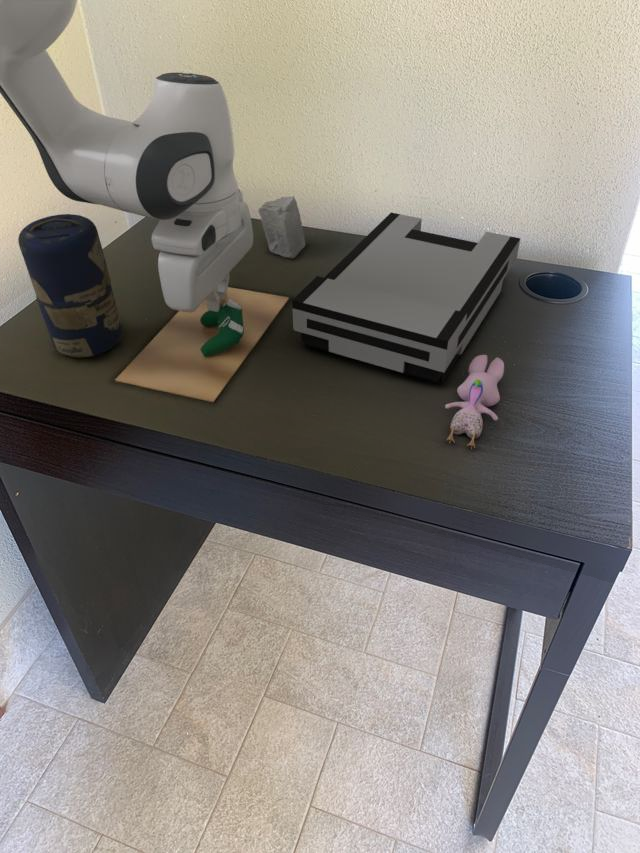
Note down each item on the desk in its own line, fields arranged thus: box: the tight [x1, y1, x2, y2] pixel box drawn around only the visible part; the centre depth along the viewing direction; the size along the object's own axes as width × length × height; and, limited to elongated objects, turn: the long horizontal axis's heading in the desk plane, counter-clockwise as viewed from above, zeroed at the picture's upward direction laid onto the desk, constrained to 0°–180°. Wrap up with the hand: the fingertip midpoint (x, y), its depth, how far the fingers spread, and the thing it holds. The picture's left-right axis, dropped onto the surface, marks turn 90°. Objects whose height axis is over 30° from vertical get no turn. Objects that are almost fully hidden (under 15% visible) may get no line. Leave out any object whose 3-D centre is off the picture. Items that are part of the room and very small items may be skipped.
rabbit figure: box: [444, 354, 505, 450], centre depth 81 cm, size 6×6×15 cm
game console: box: [291, 212, 521, 385], centre depth 96 cm, size 21×32×8 cm, turn 152°
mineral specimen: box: [258, 195, 306, 260], centre depth 112 cm, size 7×9×8 cm
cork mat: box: [114, 286, 290, 403], centre depth 95 cm, size 26×14×1 cm, turn 161°
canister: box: [17, 213, 123, 358], centre depth 88 cm, size 10×10×18 cm
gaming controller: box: [200, 299, 244, 357], centre depth 93 cm, size 9×4×6 cm
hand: (218, 306), depth 96 cm, fingers closed
